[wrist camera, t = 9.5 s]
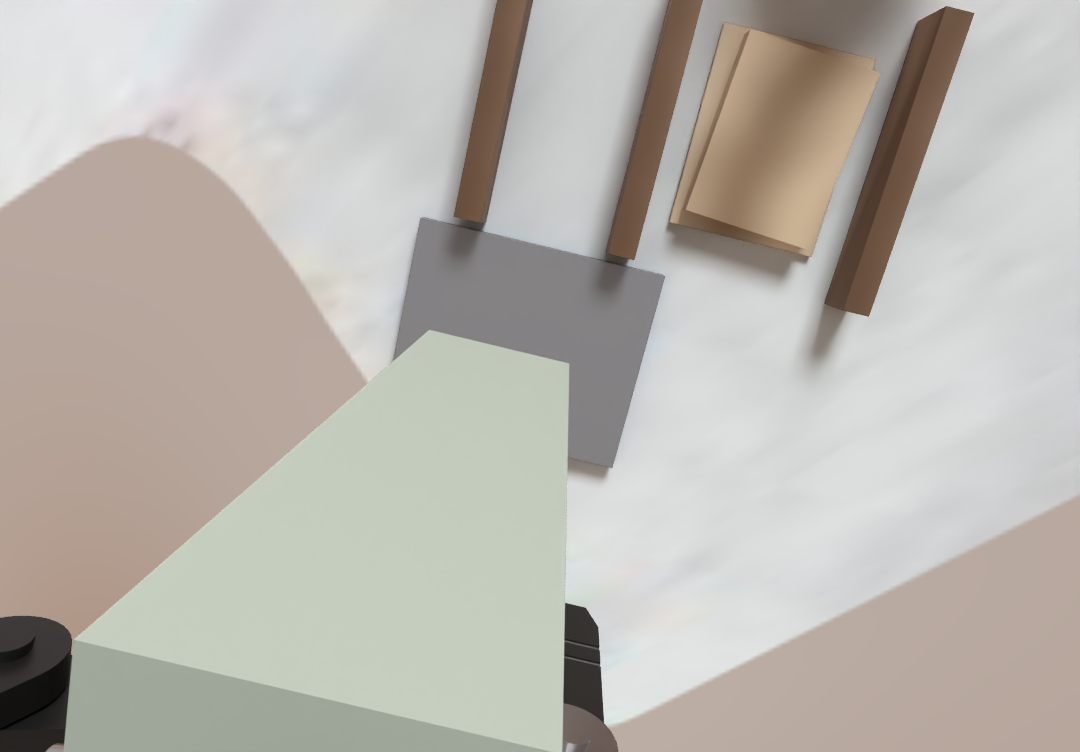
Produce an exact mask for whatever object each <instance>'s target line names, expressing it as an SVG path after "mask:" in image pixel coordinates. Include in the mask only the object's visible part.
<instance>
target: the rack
mask: <svg viewBox="0 0 1080 752" xmlns="http://www.w3.org/2000/svg"><path fill="white" fill-rule="evenodd" d="M702 1H703V0H669V4H668V8H667V12H666V16H665V20H664V24H663V28H662V31H661V35H660V39H659V43H658V47H657V51H656V55H655V59H654V63H653V67H652V71H651V75H650V79H649V83H648V87H647V91H646V95H645V99H644V102H643V106H642V110H641V114H640V118H639V122H638V126H637V130H636V134H635V138H634V142H633V146H632V150H631V154H630V158H629V162H628V166H627V170H626V173H625V177H624V181H623V185H622V189H621V193H620V197H619V201H618V205H617V209H616V213H615V217H614V221H613V225H612V229H611V233H610V237H609V241H608V244H607V248H606V251H607V253H608V254H611V255H615V256H619V257H624V258H628V259H632V260H634V259H635V255H636V251H637V248H638V244H639V240H640V236H641V232H642V229H643V225H644V221H645V217H646V214H647V210H648V206H649V202H650V198H651V195H652V191H653V187H654V183H655V179H656V176H657V172H658V168H659V164H660V160H661V157H662V153H663V149H664V145H665V141H666V138H667V134H668V130H669V126H670V123H671V119H672V115H673V111H674V107H675V104H676V100H677V96H678V92H679V88H680V85H681V81H682V77H683V73H684V69H685V66H686V62H687V58H688V54H689V50H690V47H691V43H692V39H693V35H694V31H695V28H696V24H697V20H698V16H699V13H700V9H701V5H702ZM532 2H533V0H497V4H496V9H495V14H494V19H493V24H492V29H491V34H490V39H489V44H488V49H487V54H486V59H485V64H484V69H483V74H482V79H481V84H480V89H479V94H478V99H477V104H476V109H475V114H474V119H473V123H472V128H471V133H470V138H469V143H468V148H467V153H466V158H465V163H464V168H463V173H462V178H461V183H460V188H459V193H458V198H457V203H456V208H455V213H454V217H458V218H462V219H466V220H470V221H474V222H478V223H481V222H486V219H487V215H488V210H489V205H490V200H491V196H492V191H493V186H494V182H495V177H496V172H497V167H498V163H499V158H500V153H501V149H502V144H503V139H504V134H505V130H506V125H507V120H508V116H509V111H510V106H511V101H512V97H513V92H514V87H515V83H516V78H517V73H518V68H519V64H520V59H521V54H522V50H523V45H524V40H525V35H526V31H527V26H528V21H529V17H530V12H531V7H532ZM973 16H974V13H972V12H968V11H964V10H959V9H955V8H951V7H947V6H946V7H944V8H942V9H940V10H938V11H936V12H935V13H933V14H931V15H929V16H927V17H925V18H923V19H921V20H919V21H918V23H917V26H916V29H915V32H914V35H913V38H912V41H911V44H910V47H909V50H908V53H907V56H906V59H905V62H904V65H903V68H902V71H901V74H900V77H899V80H898V83H897V86H896V89H895V92H894V95H893V98H892V101H891V104H890V107H889V110H888V113H887V116H886V119H885V122H884V125H883V128H882V131H881V134H880V137H879V140H878V143H877V146H876V149H875V152H874V155H873V159H872V162H871V165H870V168H869V171H868V174H867V177H866V180H865V183H864V186H863V189H862V192H861V195H860V198H859V201H858V204H857V207H856V210H855V213H854V216H853V219H852V222H851V225H850V228H849V231H848V234H847V237H846V240H845V243H844V246H843V249H842V252H841V255H840V258H839V261H838V264H837V267H836V270H835V273H834V276H833V279H832V282H831V285H830V288H829V291H828V294H827V297H826V300H825V304H828V305H830V306H833V307H836V308H838V309H841V310H843V311H848V312H852V313H856V314H860V315H864V316H868V317H869V315H870V312H871V309H872V306H873V303H874V300H875V297H876V295H877V292H878V289H879V286H880V283H881V280H882V277H883V274H884V272H885V269H886V266H887V263H888V260H889V257H890V254H891V251H892V249H893V246H894V243H895V240H896V237H897V234H898V231H899V228H900V226H901V223H902V220H903V217H904V214H905V211H906V208H907V205H908V203H909V200H910V197H911V194H912V191H913V188H914V185H915V182H916V180H917V177H918V174H919V171H920V168H921V165H922V162H923V159H924V156H925V154H926V151H927V148H928V145H929V142H930V139H931V136H932V133H933V131H934V128H935V125H936V122H937V119H938V116H939V113H940V110H941V108H942V105H943V102H944V99H945V96H946V93H947V90H948V87H949V85H950V82H951V79H952V76H953V73H954V70H955V67H956V64H957V62H958V59H959V56H960V53H961V50H962V47H963V44H964V41H965V39H966V36H967V33H968V30H969V27H970V24H971V21H972V18H973Z"/></svg>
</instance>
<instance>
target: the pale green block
mask: <svg viewBox="0 0 1080 752" xmlns="http://www.w3.org/2000/svg"><path fill="white" fill-rule="evenodd" d="M568 410H569V363H565V362H561V361H557V360H553V359H548V358H544V357H540V356H536V355H532V354H528V353H524V352H519V351H515V350H511V349H507V348H503V347H499V346H495V345H490V344H486V343H482V342H478V341H474V340H470V339H466V338H461V337H457V336H453V335H449V334H445V333H441V332H437V331H432V330H429V331H427V332H426V333H425V334H424V335H423V336H422V337H420V338H419V339H418V340H417V341H416V342H415V343H414V344H412V345H411V346H410V347H409V348H408V349H407V350H406V351H404V352H403V353H402V354H401V355H400V356H399V357H398V358H396V359H395V360H394V361H393V362H392V363H391V364H390V365H388V366H387V367H386V368H385V369H384V370H383V371H381V372H380V373H379V374H378V375H377V376H376V377H375V378H373V379H372V380H371V381H370V382H369V383H368V384H367V385H365V386H364V387H363V388H362V389H361V390H360V391H359V392H358V393H356V394H355V395H354V396H353V397H352V398H351V399H349V400H348V401H347V402H346V403H345V404H344V405H343V406H341V407H340V408H339V409H338V410H337V411H336V412H334V413H333V414H332V415H331V416H330V417H329V418H328V419H326V420H325V421H324V422H323V423H322V424H321V425H320V426H318V427H317V428H316V429H315V430H314V431H313V432H312V433H310V434H309V435H308V436H307V437H306V438H305V439H303V440H302V441H301V442H300V443H299V444H298V445H297V446H296V447H294V448H293V449H292V450H291V451H290V452H289V453H287V454H286V455H285V456H284V457H283V458H282V459H281V460H279V461H278V462H277V463H276V464H275V465H274V466H273V467H271V468H270V469H269V470H268V471H267V472H266V473H265V474H263V475H262V476H261V477H260V478H259V479H258V480H256V481H255V482H254V483H253V484H252V485H251V486H250V487H249V488H247V489H246V490H245V491H244V492H243V493H242V494H240V495H239V496H238V497H237V498H236V499H235V500H234V501H232V502H231V503H230V504H229V505H228V506H227V507H225V508H224V509H223V510H222V511H221V512H220V513H219V514H217V515H216V516H215V517H214V518H213V519H212V520H211V521H209V522H208V523H207V524H206V525H205V526H204V527H203V528H201V529H200V530H199V531H198V532H197V533H196V534H195V535H193V536H192V537H191V538H190V539H189V540H188V541H186V542H185V543H184V544H183V545H182V546H181V547H180V548H178V549H177V550H176V551H175V552H174V553H173V554H172V555H171V556H169V557H168V558H167V559H166V560H165V561H164V562H162V563H161V564H160V565H159V566H158V567H157V568H156V569H154V570H153V571H152V572H151V573H150V574H149V575H147V576H146V577H145V578H144V579H143V580H142V581H141V582H139V583H138V584H137V585H136V586H135V587H134V588H133V589H131V590H130V591H129V592H128V593H127V594H126V595H125V596H124V597H122V598H121V599H120V600H119V601H118V602H117V603H115V604H114V605H113V606H112V607H111V608H110V609H108V610H107V611H106V612H105V613H104V614H103V615H102V616H100V617H99V618H98V619H97V620H96V621H95V622H94V623H92V624H91V625H90V626H89V627H88V628H87V629H86V630H84V631H83V632H82V633H81V634H80V635H79V636H78V637H76V638H75V639H74V643H73V654H72V665H71V676H70V686H69V697H68V708H67V719H66V730H65V741H64V752H562V741H563V686H564V631H565V575H566V520H567V465H568Z"/></svg>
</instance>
